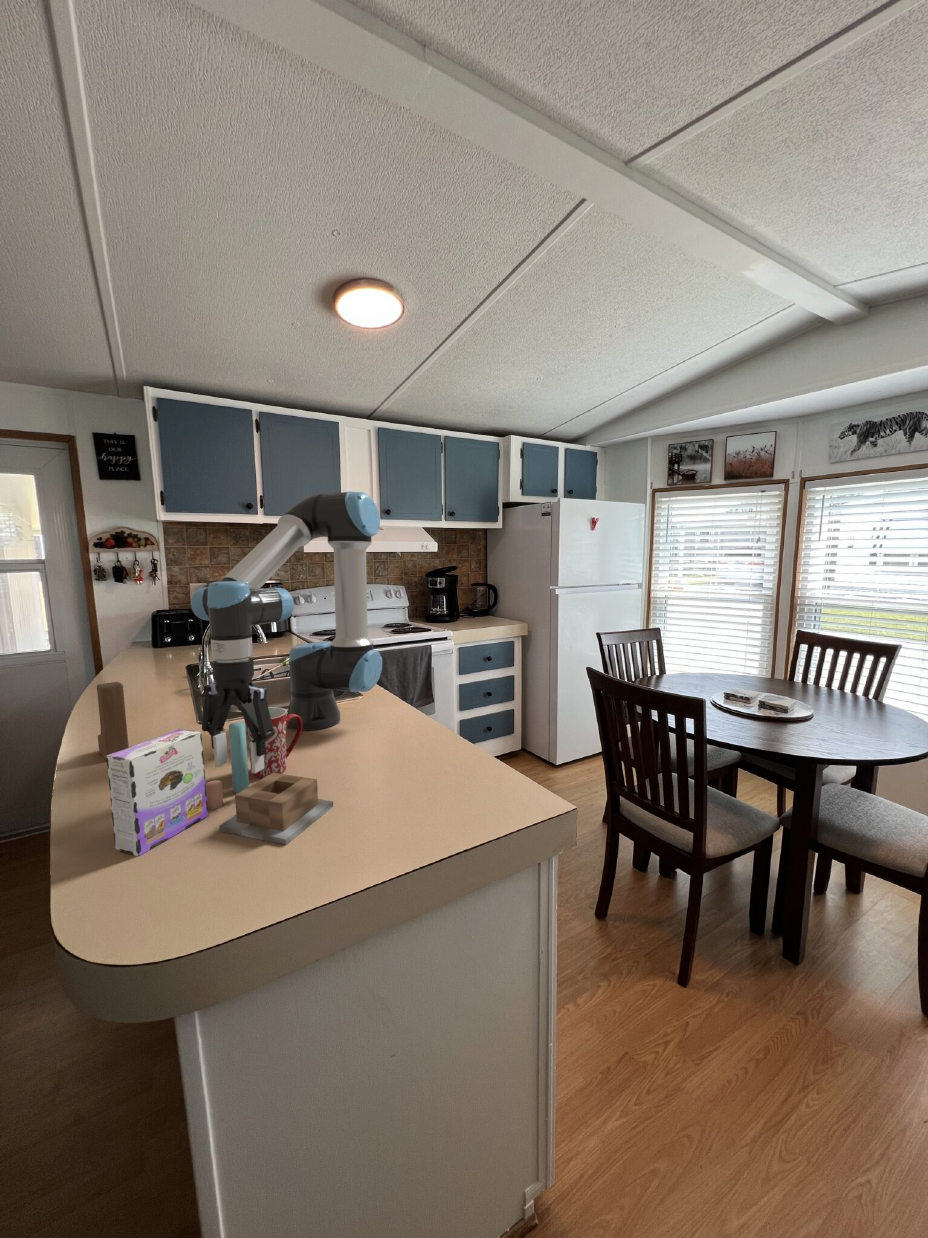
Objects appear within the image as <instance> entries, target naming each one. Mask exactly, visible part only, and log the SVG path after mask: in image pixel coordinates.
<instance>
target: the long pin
mask: <svg viewBox="0 0 928 1238" xmlns="http://www.w3.org/2000/svg"><path fill="white" fill-rule="evenodd" d="M228 732H229V734H228V735H229V746H230V749H229V751H230V763H231V778H232V779H231V780H232V792H233V793H234V794H235V795H236V794H238V793H239V792H241V791H243V790H244V789H246V788H248V787H250V783H249V782H250V781H249V767H248V764H249V763H248V749H247V748H248V746H247V734H246V727H245V721H243V722H241V721H238V722H231V723H230V724H229V725H228Z"/></svg>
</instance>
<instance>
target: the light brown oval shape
mask: <svg viewBox="0 0 928 1238" xmlns="http://www.w3.org/2000/svg"><path fill="white" fill-rule="evenodd" d="M205 783H206V794H207V805H208V811H212V810H214V811H215V810H217V809H220V808H222V807H223V805H224V796H223V782H222V780H210V781H208V782H205Z"/></svg>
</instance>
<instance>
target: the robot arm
mask: <svg viewBox="0 0 928 1238" xmlns="http://www.w3.org/2000/svg"><path fill="white" fill-rule="evenodd" d="M380 526H381V517H380V512H379V509H378V506H377V503H375V500H374V499H373V497H372V496H371V495H369V494H368V493H366V492H363V491H362V492H361V491H360V492H359V491H343V492H334V493H333V492H330V493H315V494H313V495H309V496H308V497H306V498H304V499H302V500H301V501H299V502H298V503H296V504H294V505H292V507H290V508H288V510H287V511H286V512H285V513H283V514H282V515H281V516H280V517H279V518H278V520H277V525H276V527H275V528H274V529H272V530H271V532H269V533H268V534H267V535H266V536H265V537H264V538H262V540H261V541H260V542H259V543H258V544H257V545H256V546H255V547H254V548H252V549H251V551H249V552H248V554H246V555H245V557H243V558H242V559H241V560H240V561H239V562H238V563H237V564H236V565H235V566H234V567H233V568H231V569H230V570H229V572H228V573H226V574H225V575H224V576H223V577H222V578H221V579H220V580H219V581H213V582H211V583H209V584H208V586H205V587H200V588H198V589H197V590H196V591H195V592H194V593H193V595H192V597H191V600H190V607H191V610H192V612H193V614H194V615H195V616H196V617H197V618H198V619H201V620H203V621H209V622H208V625H209V633H210V647H211V659H213V660H214V661H213V662H212V664H211V669H212V678H213V680H214V681H216V682H213V683H209V684H206V685H203V693H204V700H203V703H204V704H203V712H202V713H203V714H202V720H201V721H202V723H201V730H202V732H207V733H208V734H209V735H210V739H211V740H210V742H211V750H213V757H214V767H215V768H219V767H221V766H224V765H225V764H228V762H229V760H228V742H227V741H228V740H227V732H224V731H225V730H226V729H225V728H224V727H225V723H226V721H227V719H228V716H229V712H230V710H231V706H235V707H237V709H238V711H239V712H241V714H242V717H243V716H244V718H243V720H244V719H245V720H244V722H245V721H246V723H247V725H248V728H249V730H250V732H251V734H252V737H253V739H254V740H252V741H250V746H251V762H252V772H251V774H252V773H257V772H258V771H260V770H262V769H264V768H265V767H264V754H265V753H266V742H265V739H266V738H268V737H270V736H272V735H273V734H274V730H273V726H272V721H271V717H270V713H269V709H268V708H269V705H268V700H267V696H268V695H267V693H268V692H267V691H268V690H267V688H266V686H265V687H260V688H259V687H255V685H254V682H253V677H254V676H255V669H254V668H255V667H254V666H255V665H254V659H253V658H252V656H254V649H253V647H254V646H253V637H252V636H253V631H252V629H253V628H252V627H255V626H260V625H267V624H272V623H279V622H282V621H285V620H287V619H289V618H290V617H291V616H292V614H293V612H294V607H295V606H294V599H293V596H292V594H291V593H290V592H289V591H288V590H287V589H285V588H283V587H267V588H266V587H265V588H263V586H264V585H265V584H266V583H267V582H268V581H269V579H270V578H271V577H273V575H274V574H276V572H277V571H278V570H279V569H280V568H281V567H282V566H283V565H284V564H285V563H286V562H287V560H289V558H290V557H291V556H292V555H294V553H295V552H296V551H297V550H298V549H299V548H300V547H304V546H307V545H308V544H309V543H310V542H311V541H313V540H314V539H318V538H327V544H328V545H329V546H330V547H331V548H332V549H333V572H334V575H333V576H334V581H333V582H334V616H335V619H334V620H335V621H334V622H335V638H334V639H333V640H332V641H326V640H325V641H316V642H310V643H304V644H299V645H296V646H293V647H292V648H291V649H290V650H289V661H288V663H289V665H288V667H289V678H290V680H289V681H290V692H291V693H290V694H291V695H290V697H291V698H290V702H289V704H288V705H289V706H288V708H287V714H286V716H288V715H290V714H296V715H298V716H299V717H300V718H301V719H302V731H315V730H321V729H326V728H329V727H333V726H335V725H337V724H338V723H340V721H341V711H340V709H339V706H338V703H337V701H336V698H335V695H334V690H335V691H344V692H351V693H365V692H366V693H367V692H369V691H371V690H372V689H373V688H374V687H375V686H376V685H377V683H378V681H379V680H380V677H381V673H382V670H383V658H382V656H381V653H380V652H379V651H377V650H375V649H374V641H373V640H372V639H370V637H369V635H368V591H367V590H368V589H367V588H368V587H367V586H368V584H367V583H368V582H367V580H368V579H367V578H368V577H367V549H368V548H369V547H370V546H371V544H372V537H374V536H376V535H377V534H378V532H379V530H380ZM287 728H289V729H292V730H295V731H296V730H297V720H296V718H293V719H291V720H290V721H289V723H288V726H287ZM258 732H259V734H258Z"/></svg>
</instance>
